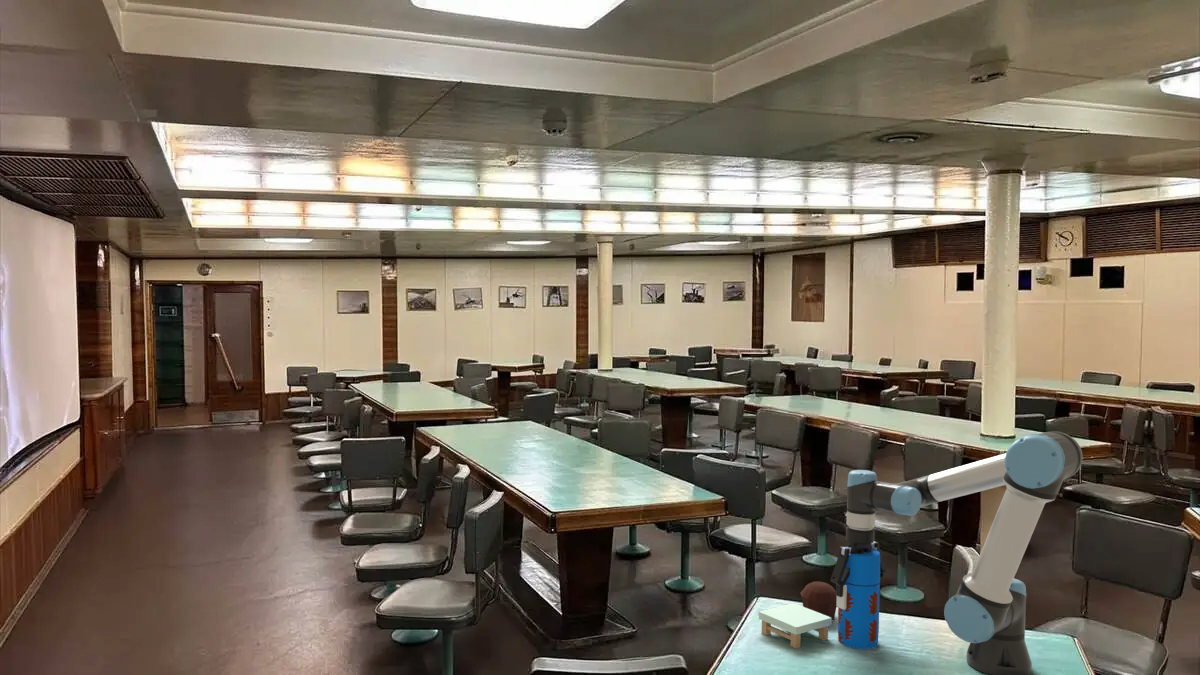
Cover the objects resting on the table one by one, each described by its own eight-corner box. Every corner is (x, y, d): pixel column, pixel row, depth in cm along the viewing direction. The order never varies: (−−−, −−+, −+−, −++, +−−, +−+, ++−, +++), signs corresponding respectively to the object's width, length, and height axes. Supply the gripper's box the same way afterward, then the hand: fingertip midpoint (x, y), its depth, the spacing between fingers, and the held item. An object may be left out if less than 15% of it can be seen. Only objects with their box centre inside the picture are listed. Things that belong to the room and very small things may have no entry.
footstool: (831, 639, 231) (831, 617, 231) (795, 649, 223) (796, 627, 223) (793, 623, 243) (793, 603, 242) (758, 632, 235) (758, 611, 235)
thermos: (873, 635, 234) (875, 547, 234) (882, 650, 224) (884, 557, 223) (834, 633, 235) (836, 545, 235) (841, 648, 225) (843, 555, 224)
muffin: (843, 624, 243) (844, 590, 242) (805, 623, 243) (805, 589, 243) (833, 610, 254) (833, 577, 254) (796, 609, 255) (797, 577, 255)
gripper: (878, 518, 239) (875, 592, 240) (818, 529, 225) (816, 607, 226) (900, 524, 233) (898, 600, 233) (840, 536, 219) (838, 616, 219)
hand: (857, 603), depth 230 cm, fingers open, 13 cm apart
